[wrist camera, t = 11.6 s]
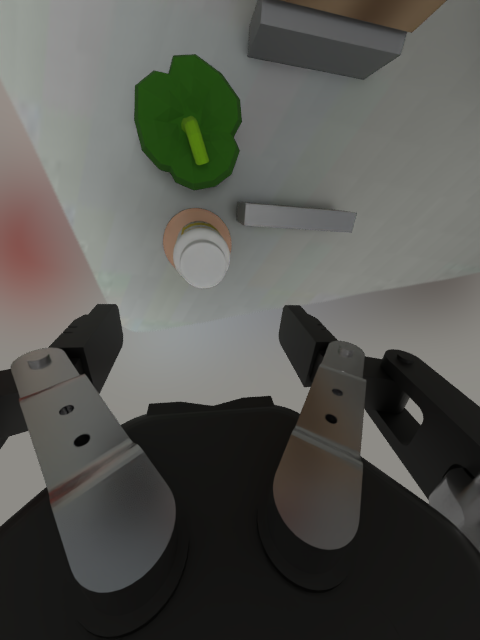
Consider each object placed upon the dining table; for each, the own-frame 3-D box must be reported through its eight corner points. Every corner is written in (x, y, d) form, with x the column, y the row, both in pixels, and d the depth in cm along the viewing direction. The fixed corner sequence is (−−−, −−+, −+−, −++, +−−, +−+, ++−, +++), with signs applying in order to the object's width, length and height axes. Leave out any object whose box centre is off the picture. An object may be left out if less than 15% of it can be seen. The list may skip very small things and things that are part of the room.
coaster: (233, 210, 28) (233, 211, 28) (229, 277, 32) (229, 278, 31) (161, 205, 26) (160, 205, 26) (165, 275, 30) (165, 276, 30)
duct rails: (370, 51, 23) (410, 19, 19) (329, 226, 31) (351, 232, 26) (249, 25, 21) (263, -18, 17) (236, 220, 29) (244, 225, 24)
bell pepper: (144, 79, 22) (111, 4, 13) (234, 97, 23) (258, 40, 15) (150, 185, 26) (128, 182, 17) (227, 194, 27) (243, 195, 18)
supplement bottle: (204, 275, 31) (208, 307, 22) (167, 247, 28) (156, 271, 20) (232, 241, 29) (247, 261, 21) (195, 209, 27) (195, 217, 18)
